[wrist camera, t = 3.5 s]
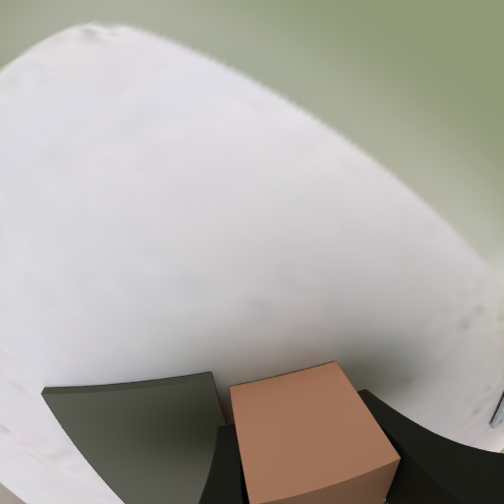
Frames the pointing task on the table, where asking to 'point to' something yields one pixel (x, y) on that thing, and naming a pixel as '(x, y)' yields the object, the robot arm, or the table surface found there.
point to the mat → (145, 434)
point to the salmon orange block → (311, 440)
